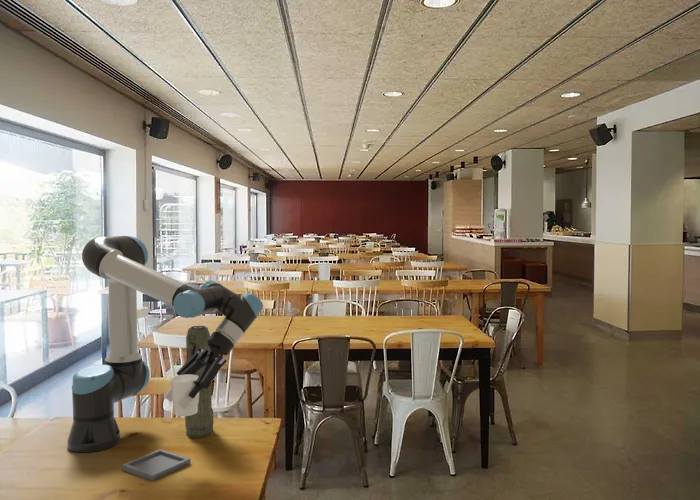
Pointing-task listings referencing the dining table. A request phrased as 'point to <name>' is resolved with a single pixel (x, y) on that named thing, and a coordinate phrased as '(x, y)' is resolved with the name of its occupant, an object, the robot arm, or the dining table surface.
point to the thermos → (203, 418)
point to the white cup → (179, 389)
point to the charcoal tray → (156, 464)
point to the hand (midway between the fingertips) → (174, 402)
